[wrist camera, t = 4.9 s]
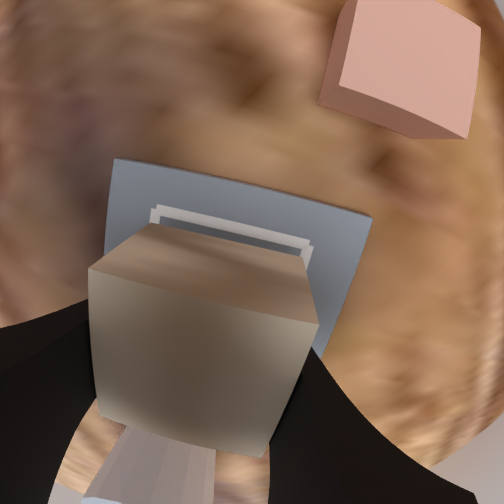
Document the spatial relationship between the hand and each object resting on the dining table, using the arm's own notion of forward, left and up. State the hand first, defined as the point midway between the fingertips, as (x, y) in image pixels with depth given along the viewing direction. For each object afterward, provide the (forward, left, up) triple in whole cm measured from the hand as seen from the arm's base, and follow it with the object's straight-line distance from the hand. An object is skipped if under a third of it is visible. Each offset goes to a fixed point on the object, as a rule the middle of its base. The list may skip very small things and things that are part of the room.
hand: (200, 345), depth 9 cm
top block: (+4, +10, -4) cm, 12 cm away
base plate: (0, 0, -4) cm, 4 cm away
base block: (0, 0, -2) cm, 2 cm away
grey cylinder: (-1, -11, -4) cm, 12 cm away
